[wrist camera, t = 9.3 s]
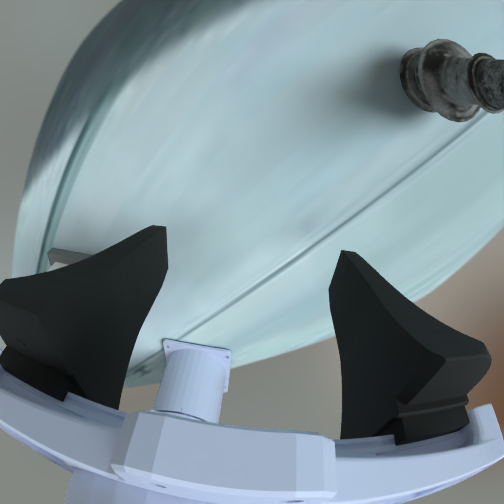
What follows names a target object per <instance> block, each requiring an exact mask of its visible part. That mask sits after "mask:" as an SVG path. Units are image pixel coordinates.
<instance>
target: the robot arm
mask: <svg viewBox="0 0 504 504" xmlns="http://www.w3.org/2000/svg"><path fill="white" fill-rule="evenodd" d="M167 270H168V255H167V235H166V227H164V226H155V225H152V226H149V227H147V228H145V229H143V230H141V231H139V232H137V233H135V234H134V235H132V236H130V237H128V238H126V239H124V240H123V241H121V242H119V243H117V244H115V245H113V246H111V247H109V248H107V249H105V250H103V251H101V252H99V253H97V254H95V255H93V256H91V257H88V258H86V259H83V260H81V261H79V262H76V263H73V264H70V265H67V266H64V267H61V268H58V269H55V270H52V271H48V272H44V273H40V274H35V275H31V276H25V277H18V278H12V279H5V280H4V281H3V282H2V283H1V284H0V336H1V337H2V339H3V341H4V342H5V344H6V345H7V346H6V348H5V349H4V351H2V350H1V349H0V428H1V429H3V430H4V431H6V432H7V433H8V434H10V435H11V436H12V437H14V438H15V439H17V440H18V441H20V442H21V443H22V444H24V445H25V446H27V447H28V448H30V449H32V450H33V451H35V452H36V453H38V454H40V455H41V456H43V457H45V458H46V459H48V460H50V461H52V462H53V463H55V464H57V465H58V466H60V467H62V468H64V469H66V470H68V471H70V472H72V473H73V474H72V477H71V480H70V483H69V487H68V490H67V493H66V497H65V500H64V504H401V503H404V502H408V501H411V500H414V499H417V498H420V497H423V496H426V495H428V494H431V493H434V492H437V491H439V490H442V489H445V488H447V487H450V486H452V485H454V484H457V483H459V482H461V481H463V480H465V479H467V478H469V477H471V476H473V475H475V474H477V473H478V472H480V471H482V470H484V469H486V468H487V467H489V466H491V465H492V464H494V463H496V462H497V461H499V460H500V459H502V458H503V457H504V441H503V437H502V434H501V431H500V428H499V424H498V422H497V418H496V416H495V413H494V410H493V407H492V405H491V404H486V405H483V406H480V407H476V408H474V409H471V410H470V411H468V412H466V409H465V405H467V404H468V402H469V400H468V397H467V393H468V392H469V391H470V390H471V389H472V388H473V387H474V386H475V385H476V384H477V383H478V382H479V381H480V380H481V379H482V378H483V377H484V375H485V374H486V373H487V371H488V370H489V368H490V365H491V361H492V359H491V356H490V354H489V352H488V350H487V348H486V346H485V345H484V343H483V342H481V341H479V340H477V339H474V338H472V337H470V336H467V335H465V334H463V333H461V332H459V331H457V330H455V329H453V328H451V327H449V326H447V325H445V324H444V323H442V322H440V321H438V320H437V319H435V318H434V317H432V316H430V315H429V314H427V313H426V312H425V311H423V310H422V309H420V308H419V307H417V306H416V305H415V304H414V303H412V302H411V301H410V300H408V299H407V298H406V297H405V296H403V295H402V294H401V293H400V292H399V291H398V290H396V289H395V288H394V287H393V286H392V285H391V284H390V283H389V282H387V281H386V280H385V279H384V278H383V277H382V276H381V275H380V274H379V273H378V272H377V271H376V270H375V269H374V268H373V267H372V266H371V265H370V264H368V263H367V262H366V261H365V260H364V259H363V258H362V257H361V256H360V255H358V254H357V253H356V252H351V251H345V250H341V253H340V256H339V259H338V262H337V266H336V269H335V272H334V275H333V278H332V281H331V284H330V286H329V302H330V311H331V316H332V320H333V325H334V330H335V334H336V339H337V344H338V349H339V354H340V361H341V375H342V423H341V435H340V440H331V439H329V438H327V437H325V436H323V435H321V434H319V433H314V432H304V431H297V430H277V429H262V428H251V427H242V426H232V425H226V424H219V423H218V421H219V415H220V408H221V402H222V396H223V392H227V391H228V383H229V374H230V365H231V356H232V352H231V351H230V350H226V349H219V348H213V347H207V346H201V345H195V344H190V343H184V342H179V341H174V340H169V339H165V340H164V341H163V347H164V352H165V358H166V363H167V365H166V369H165V372H164V375H163V378H162V381H161V384H160V387H159V390H158V394H157V397H156V400H155V403H154V407H153V410H150V411H140V412H135V413H131V414H128V413H125V412H122V411H118V409H119V404H120V398H121V393H122V389H123V384H124V380H125V376H126V372H127V368H128V365H129V361H130V358H131V354H132V351H133V348H134V345H135V342H136V339H137V336H138V334H139V331H140V329H141V327H142V325H143V323H144V321H145V319H146V317H147V315H148V313H149V311H150V309H151V307H152V305H153V303H154V301H155V299H156V297H157V295H158V293H159V291H160V289H161V287H162V284H163V282H164V279H165V276H166V273H167Z"/></svg>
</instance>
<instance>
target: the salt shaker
mask: <svg viewBox="0 0 504 504" xmlns="http://www.w3.org/2000/svg"><path fill="white" fill-rule="evenodd" d="M400 78H401V82H402V86H403V88H404V90H405V92H406V94H407V95H408V97H409V98H410V99H411V101H412V102H413V103H415V104H416V105H417V106H418V107H420V108H422V109H424V110H426V111H430V112H438V113H439V114H440V115H441V116H443V117H445V118H446V119H448V120H451V121H455V122H464V121H468V120H470V119H472V118H473V117H474V116H475V115H476V114H477V113H478V112H479V110H480V108H483V109H484V110H485V111H487V112H490V113H493V114H495V113H500V112H502V111H503V110H504V60H496V59H495V58H493V57H492V56H491V55H488V54H486V53H478V54H475V55H474V56H473V57H472V56H471V55H470V54H469V52H468V51H467V50H466V49H465V48H463V47H462V46H460V45H459V44H457V43H456V42H453V41H450V40H448V39H437V40H434V41H431V42H430V43H429V44H427V45H426V46H425V47H424V48H415V49H413V50H410V51H409V52H408V53H407V54H406V55H405V56H404V58H403V60H402V62H401V67H400Z"/></svg>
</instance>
